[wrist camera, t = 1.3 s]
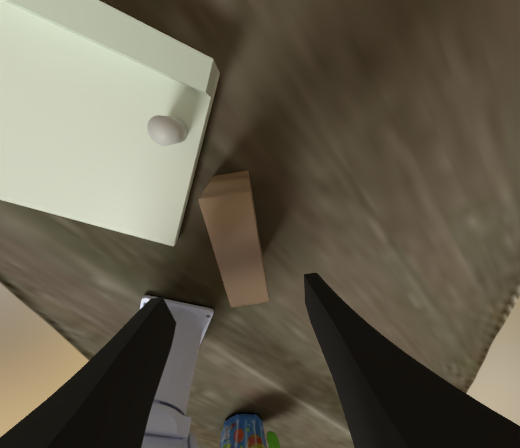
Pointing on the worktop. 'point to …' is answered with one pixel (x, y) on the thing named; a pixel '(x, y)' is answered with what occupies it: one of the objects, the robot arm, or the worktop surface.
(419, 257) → the worktop surface
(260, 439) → the snack cup
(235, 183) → the brown tapered block
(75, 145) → the ledge board
